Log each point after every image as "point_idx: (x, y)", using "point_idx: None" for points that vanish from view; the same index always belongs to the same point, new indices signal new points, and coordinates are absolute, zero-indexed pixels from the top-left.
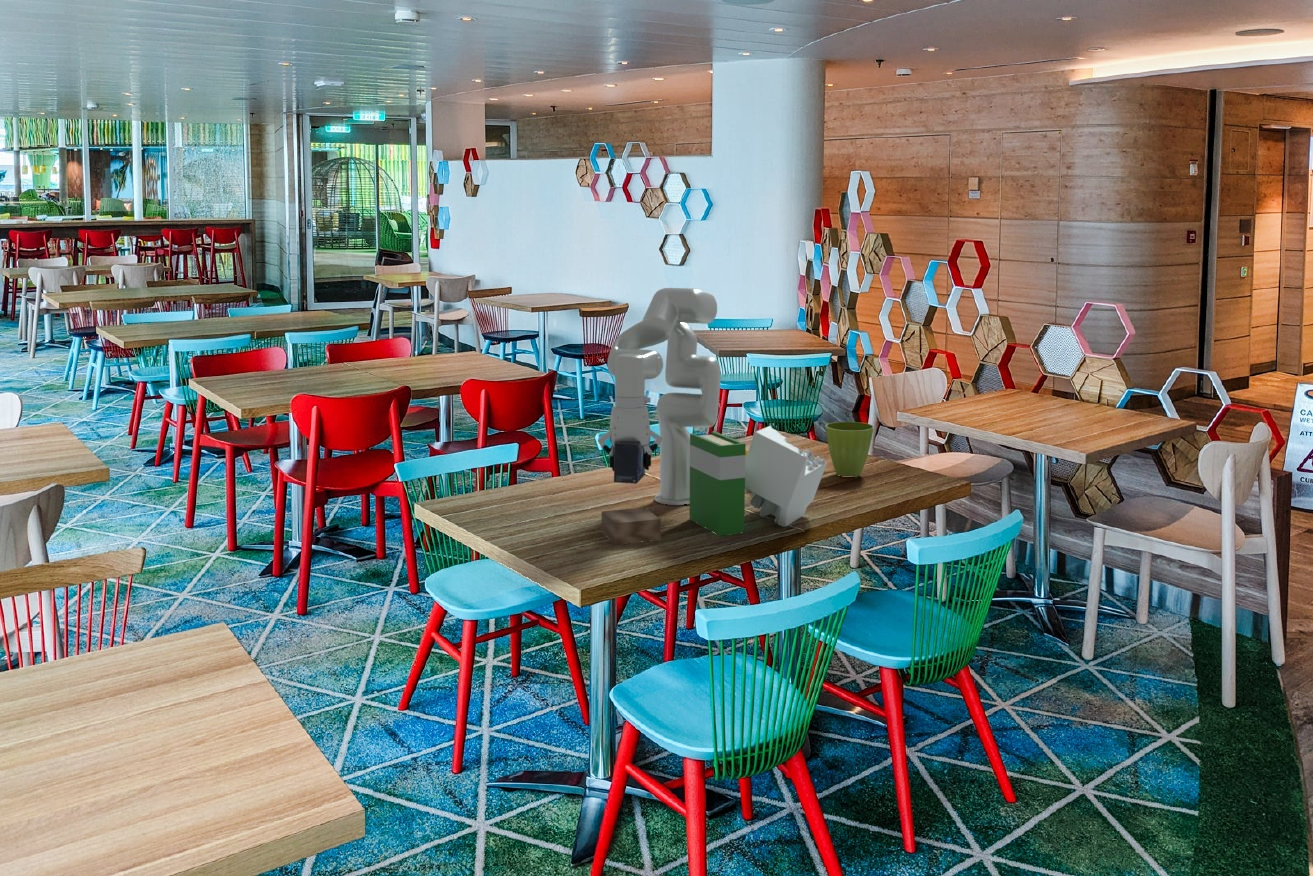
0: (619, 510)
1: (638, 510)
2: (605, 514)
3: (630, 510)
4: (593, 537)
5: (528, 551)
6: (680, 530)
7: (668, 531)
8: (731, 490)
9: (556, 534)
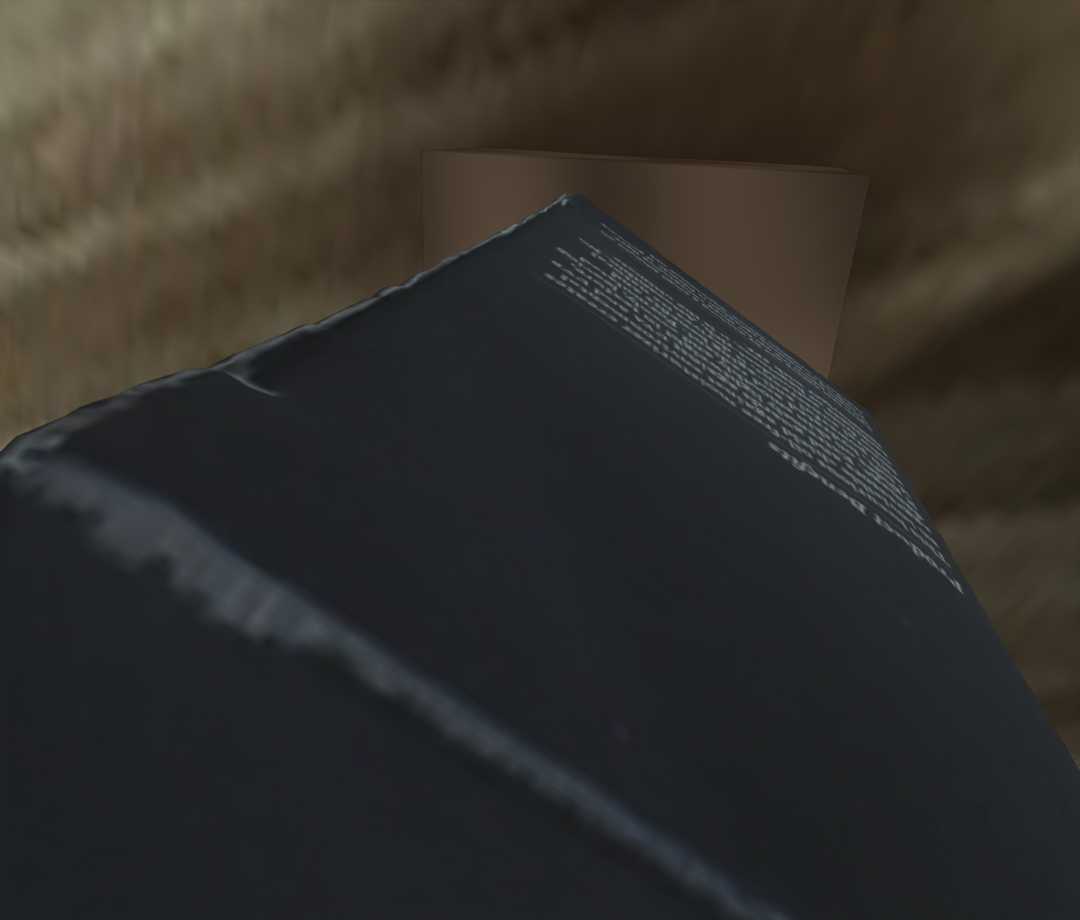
0: (585, 186)
1: (751, 263)
2: (425, 267)
3: (681, 231)
4: (391, 247)
5: (7, 352)
6: (1060, 354)
7: (954, 338)
8: None
9: (170, 62)
